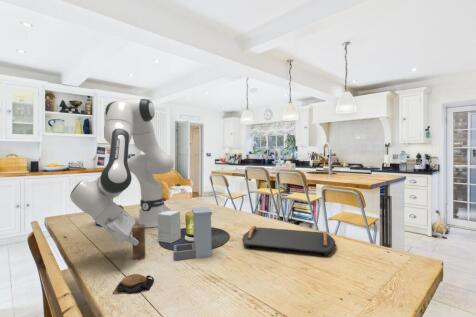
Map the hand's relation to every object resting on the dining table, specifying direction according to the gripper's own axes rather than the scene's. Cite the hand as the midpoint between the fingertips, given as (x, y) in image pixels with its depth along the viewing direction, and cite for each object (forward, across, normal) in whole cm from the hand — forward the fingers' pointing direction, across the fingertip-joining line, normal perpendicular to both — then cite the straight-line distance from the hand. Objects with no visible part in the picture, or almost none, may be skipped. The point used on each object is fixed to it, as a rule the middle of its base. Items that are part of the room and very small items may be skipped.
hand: (139, 239), depth 98 cm
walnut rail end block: (+5, 0, +5) cm, 7 cm away
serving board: (+48, -3, -37) cm, 61 cm away
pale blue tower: (+19, -3, -9) cm, 21 cm away
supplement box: (+13, +17, -3) cm, 21 cm away
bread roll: (+6, -22, +5) cm, 23 cm away
